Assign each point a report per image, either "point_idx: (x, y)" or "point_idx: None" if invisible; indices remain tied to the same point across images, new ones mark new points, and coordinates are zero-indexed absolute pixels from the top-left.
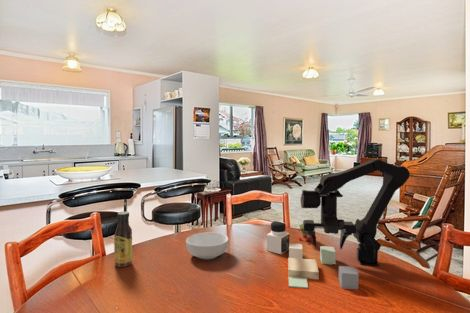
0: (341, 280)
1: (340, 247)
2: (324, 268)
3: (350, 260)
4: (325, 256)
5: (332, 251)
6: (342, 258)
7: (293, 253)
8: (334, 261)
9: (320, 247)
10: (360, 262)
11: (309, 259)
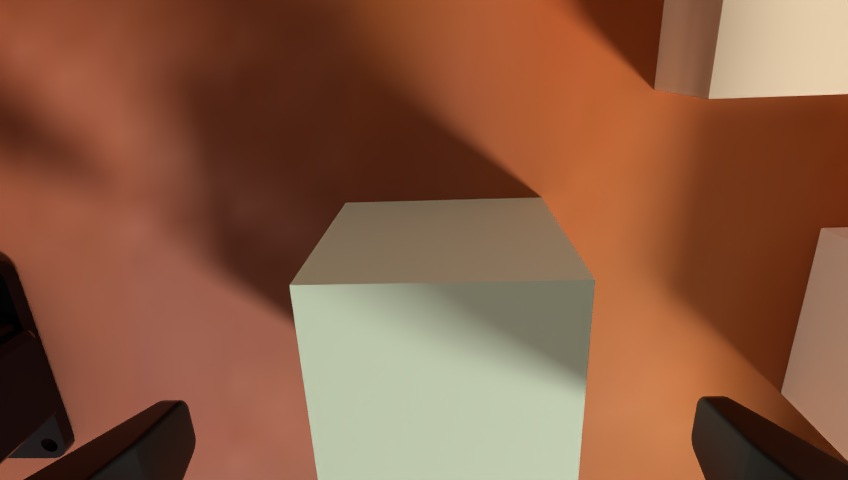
0: None
1: (163, 424)
2: (524, 34)
3: (148, 362)
4: (498, 239)
5: (358, 295)
6: (245, 400)
7: None
8: (351, 218)
9: (574, 470)
10: (5, 288)
11: (839, 75)
